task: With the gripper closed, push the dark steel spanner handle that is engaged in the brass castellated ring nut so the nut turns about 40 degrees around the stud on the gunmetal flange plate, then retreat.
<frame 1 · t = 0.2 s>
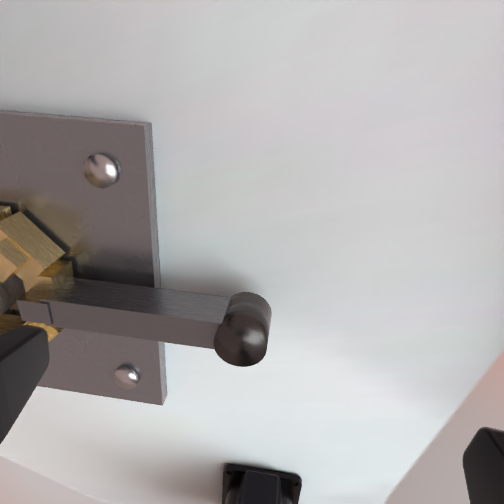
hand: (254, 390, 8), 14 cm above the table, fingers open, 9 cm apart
flange plate: (17, 266, 25), on the table
ring nut: (80, 303, 22), point 3 cm above the table, hinge at 0.0°
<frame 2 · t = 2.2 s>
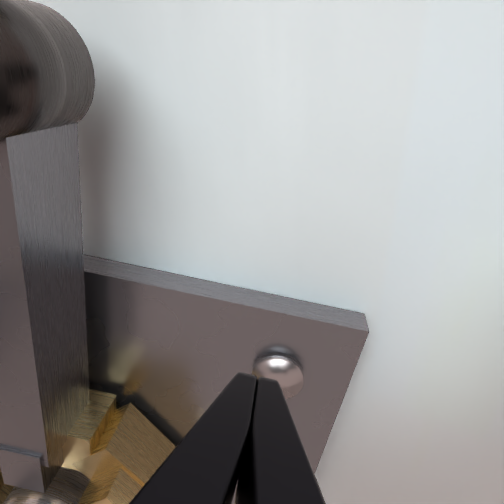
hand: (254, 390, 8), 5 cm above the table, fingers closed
flange plate: (94, 439, 18), on the table
ring nut: (42, 395, 12), point 3 cm above the table, hinge at 0.0°
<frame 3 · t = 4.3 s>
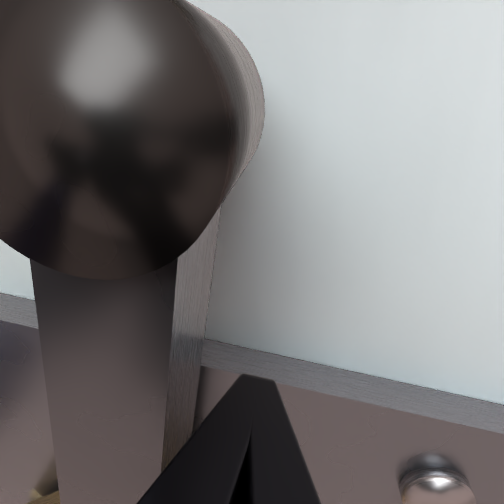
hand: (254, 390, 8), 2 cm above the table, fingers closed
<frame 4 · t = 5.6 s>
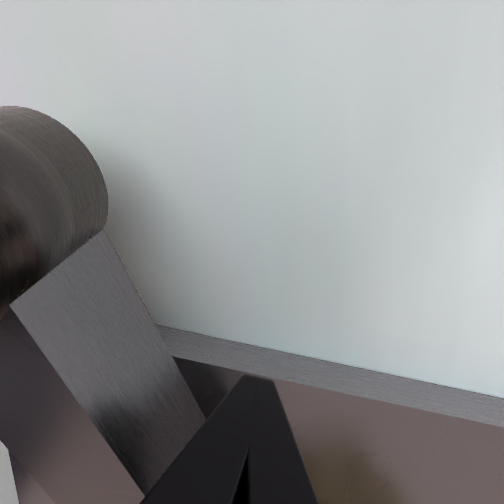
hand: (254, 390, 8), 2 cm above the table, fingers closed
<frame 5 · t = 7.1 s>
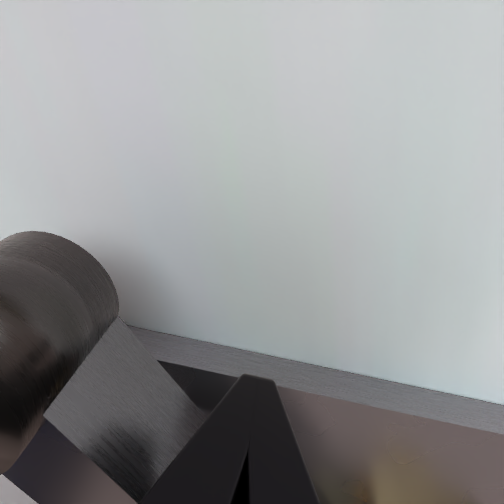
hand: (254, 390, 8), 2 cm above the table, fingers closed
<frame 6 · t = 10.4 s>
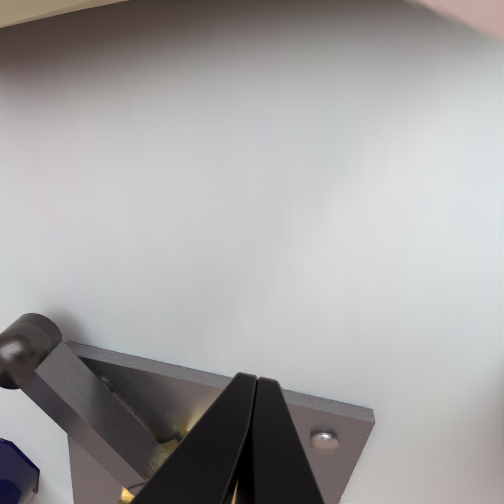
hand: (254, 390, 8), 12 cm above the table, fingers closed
flange plate: (201, 471, 28), on the table
ring nut: (134, 456, 24), point 3 cm above the table, hinge at 41.5°
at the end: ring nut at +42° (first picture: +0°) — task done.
